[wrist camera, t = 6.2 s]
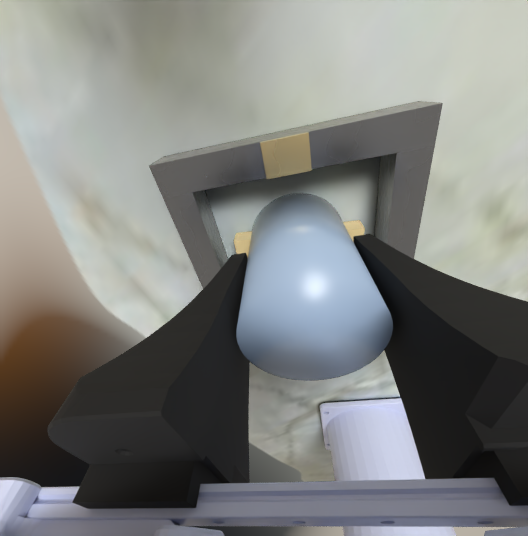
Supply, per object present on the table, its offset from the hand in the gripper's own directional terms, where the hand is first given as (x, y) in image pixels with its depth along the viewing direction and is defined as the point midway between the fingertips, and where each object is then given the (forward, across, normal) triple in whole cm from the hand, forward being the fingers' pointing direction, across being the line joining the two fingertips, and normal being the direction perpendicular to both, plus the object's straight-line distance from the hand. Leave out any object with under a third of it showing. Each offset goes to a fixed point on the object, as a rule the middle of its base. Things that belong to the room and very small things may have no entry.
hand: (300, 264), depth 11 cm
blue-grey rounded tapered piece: (+2, 0, 0) cm, 2 cm away
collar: (+2, 0, 0) cm, 2 cm away
